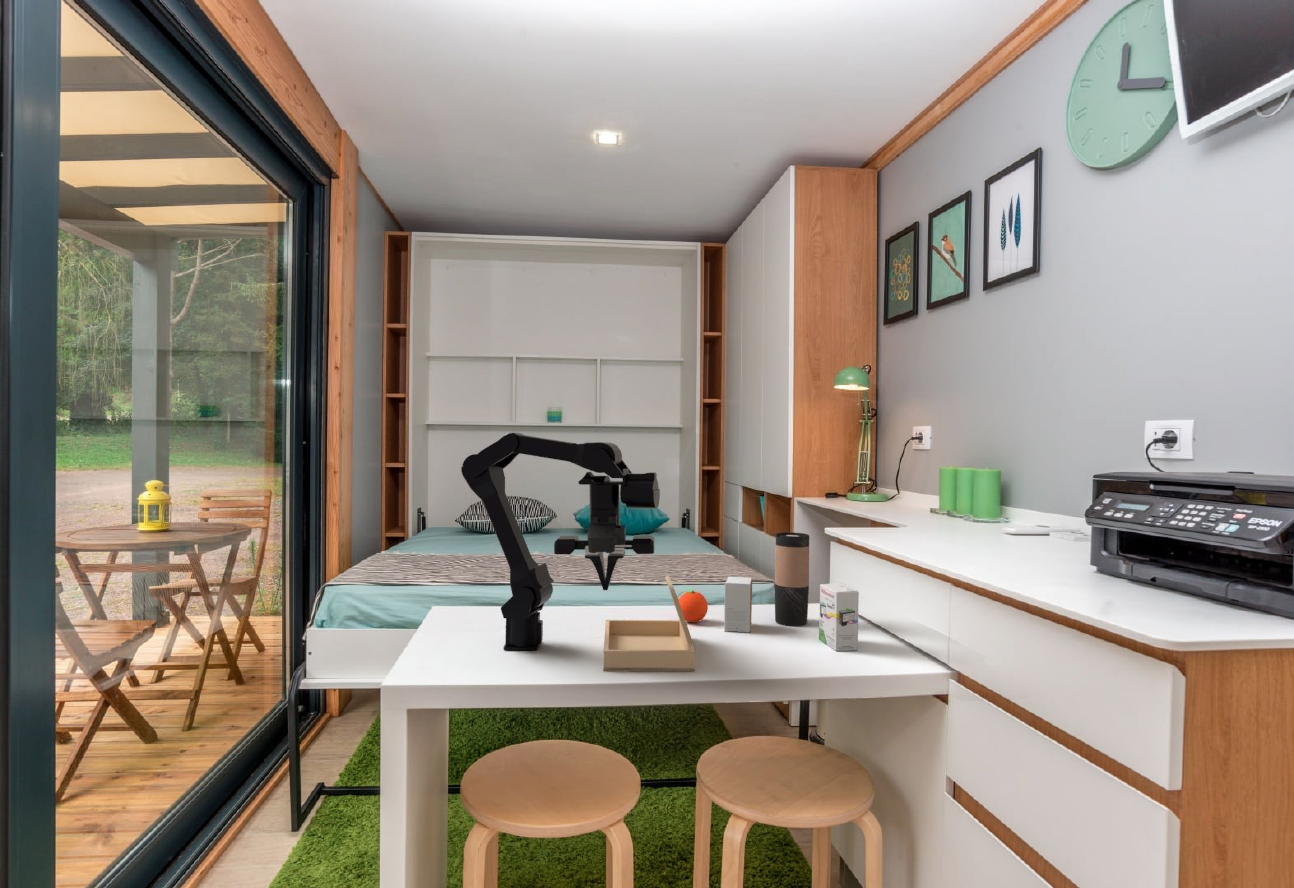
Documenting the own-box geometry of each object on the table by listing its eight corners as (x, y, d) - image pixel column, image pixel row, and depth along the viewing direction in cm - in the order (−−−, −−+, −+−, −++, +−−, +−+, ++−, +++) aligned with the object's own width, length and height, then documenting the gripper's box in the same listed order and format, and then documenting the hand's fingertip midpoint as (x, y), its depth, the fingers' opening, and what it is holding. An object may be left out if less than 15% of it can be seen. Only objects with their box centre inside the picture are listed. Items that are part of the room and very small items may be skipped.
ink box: (817, 639, 145) (818, 582, 145) (840, 638, 146) (841, 582, 146) (835, 651, 137) (836, 591, 137) (859, 650, 137) (860, 590, 137)
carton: (603, 670, 122) (603, 650, 122) (605, 636, 144) (605, 619, 144) (694, 671, 123) (694, 651, 123) (682, 637, 145) (682, 620, 145)
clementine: (666, 621, 158) (667, 589, 158) (685, 615, 163) (685, 585, 163) (695, 627, 153) (696, 595, 153) (713, 621, 158) (714, 590, 158)
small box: (749, 633, 149) (750, 583, 149) (723, 631, 150) (724, 582, 150) (751, 624, 157) (752, 577, 157) (726, 622, 158) (727, 575, 158)
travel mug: (812, 621, 160) (814, 534, 160) (801, 628, 154) (803, 537, 154) (781, 616, 164) (782, 531, 164) (768, 623, 158) (770, 534, 158)
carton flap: (689, 645, 124) (672, 597, 124) (679, 618, 144) (664, 576, 144) (693, 643, 124) (676, 595, 124) (682, 616, 144) (668, 575, 144)
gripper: (548, 513, 125) (549, 599, 126) (652, 512, 125) (653, 599, 125) (558, 506, 137) (559, 586, 137) (654, 506, 136) (655, 586, 136)
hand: (605, 589), depth 133 cm, fingers closed
